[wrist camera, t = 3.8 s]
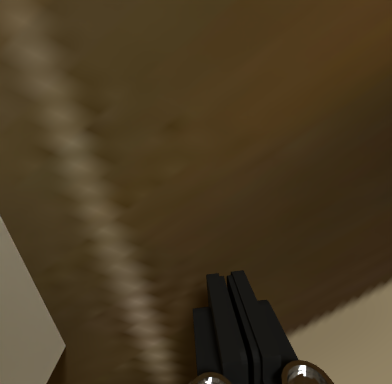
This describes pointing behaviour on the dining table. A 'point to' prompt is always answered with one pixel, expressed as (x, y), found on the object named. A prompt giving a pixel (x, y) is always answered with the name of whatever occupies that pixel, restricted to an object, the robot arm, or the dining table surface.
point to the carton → (24, 322)
